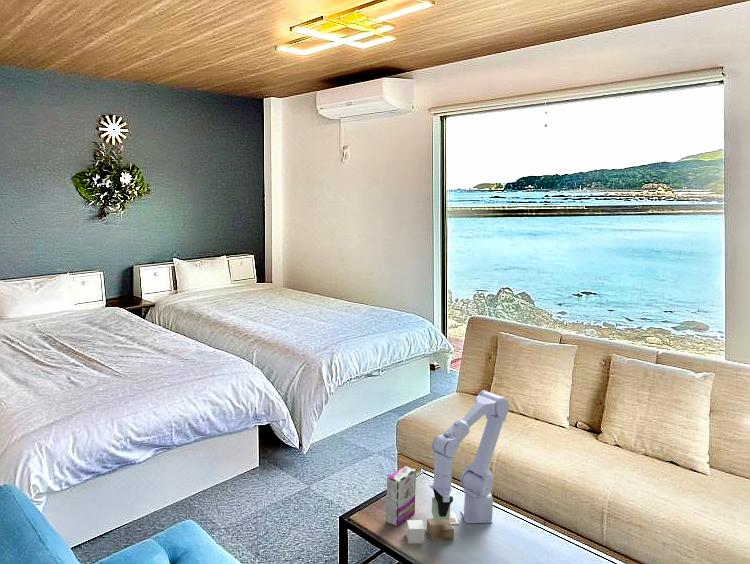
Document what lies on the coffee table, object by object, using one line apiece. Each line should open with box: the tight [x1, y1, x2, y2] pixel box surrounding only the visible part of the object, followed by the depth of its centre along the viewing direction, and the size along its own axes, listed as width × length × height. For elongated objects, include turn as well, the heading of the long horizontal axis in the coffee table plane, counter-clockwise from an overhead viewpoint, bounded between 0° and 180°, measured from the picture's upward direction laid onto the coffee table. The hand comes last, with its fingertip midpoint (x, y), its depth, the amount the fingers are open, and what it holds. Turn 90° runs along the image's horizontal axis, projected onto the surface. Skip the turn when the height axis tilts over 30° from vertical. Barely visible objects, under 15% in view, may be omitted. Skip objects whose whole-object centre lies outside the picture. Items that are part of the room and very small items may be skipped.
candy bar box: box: [385, 465, 417, 527], centre depth 190 cm, size 11×5×16 cm, turn 143°
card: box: [449, 511, 460, 526], centre depth 191 cm, size 5×7×1 cm
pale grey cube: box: [406, 519, 426, 544], centre depth 179 cm, size 5×5×5 cm
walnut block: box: [426, 517, 455, 543], centre depth 181 cm, size 7×7×4 cm
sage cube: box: [431, 496, 451, 520], centre depth 180 cm, size 5×5×5 cm
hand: (440, 511), depth 181 cm, fingers closed on sage cube, 5 cm apart
